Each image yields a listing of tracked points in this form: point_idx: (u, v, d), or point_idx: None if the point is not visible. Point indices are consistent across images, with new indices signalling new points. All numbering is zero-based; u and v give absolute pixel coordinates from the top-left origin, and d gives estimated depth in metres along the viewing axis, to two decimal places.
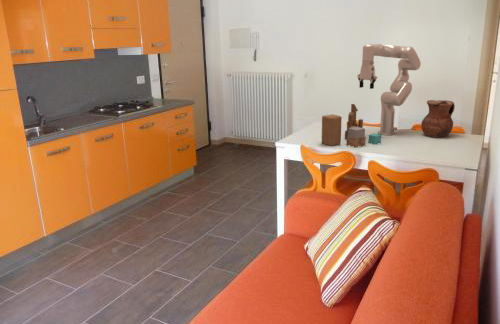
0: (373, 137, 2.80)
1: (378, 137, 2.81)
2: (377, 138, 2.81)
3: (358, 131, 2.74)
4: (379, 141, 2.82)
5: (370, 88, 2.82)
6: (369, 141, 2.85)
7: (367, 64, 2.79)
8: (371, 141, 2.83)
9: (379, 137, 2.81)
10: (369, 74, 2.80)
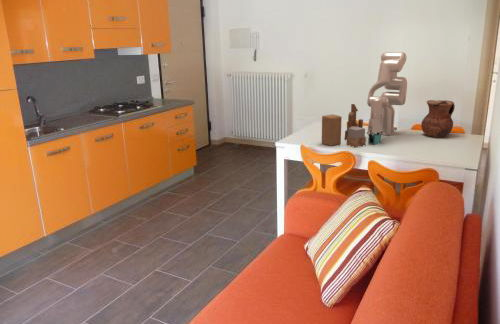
0: (373, 137, 2.80)
1: (378, 137, 2.81)
2: (377, 138, 2.81)
3: (358, 131, 2.74)
4: (379, 141, 2.82)
5: None
6: None
7: (381, 117, 2.78)
8: None
9: (379, 137, 2.81)
10: (381, 126, 2.81)
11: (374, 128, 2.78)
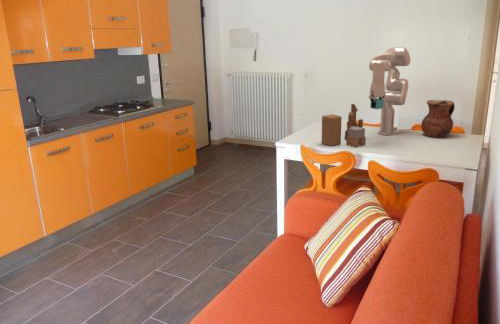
0: (376, 102, 2.73)
1: (380, 101, 2.74)
2: (379, 102, 2.74)
3: (358, 131, 2.74)
4: (381, 106, 2.75)
5: None
6: None
7: None
8: None
9: (381, 101, 2.74)
10: (384, 90, 2.74)
11: (376, 92, 2.71)
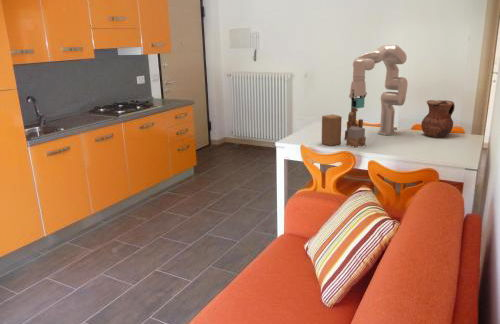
0: (356, 101, 2.69)
1: (361, 100, 2.70)
2: (360, 101, 2.69)
3: (358, 131, 2.74)
4: (362, 105, 2.71)
5: None
6: None
7: (364, 79, 2.67)
8: None
9: (362, 100, 2.70)
10: (365, 89, 2.70)
11: (356, 91, 2.67)
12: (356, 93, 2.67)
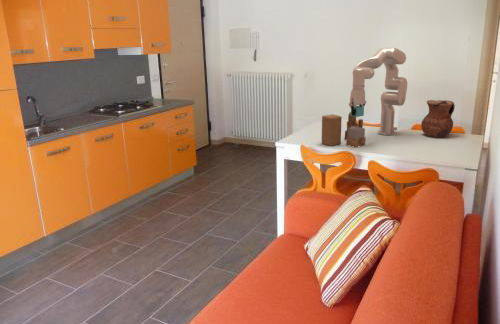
0: (356, 109, 2.71)
1: (360, 109, 2.71)
2: (359, 110, 2.71)
3: (358, 131, 2.74)
4: (362, 113, 2.73)
5: None
6: (351, 113, 2.75)
7: None
8: None
9: (361, 109, 2.72)
10: (364, 98, 2.72)
11: (356, 99, 2.68)
12: (356, 102, 2.69)
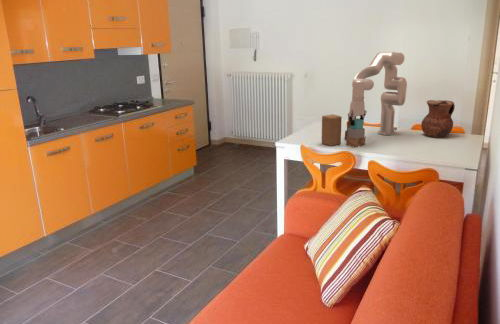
0: (355, 122, 2.73)
1: (360, 122, 2.74)
2: (359, 123, 2.74)
3: (358, 131, 2.74)
4: (361, 126, 2.75)
5: (363, 123, 2.78)
6: (351, 126, 2.77)
7: (363, 99, 2.71)
8: (353, 126, 2.76)
9: (361, 122, 2.74)
10: (364, 109, 2.74)
11: (356, 111, 2.71)
12: (355, 113, 2.71)
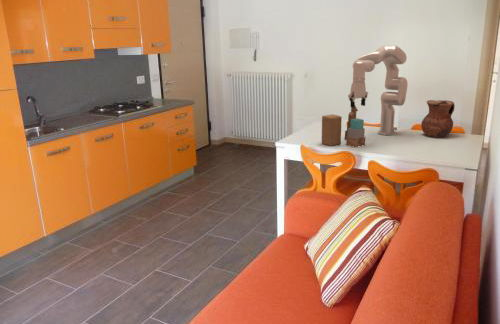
0: (355, 122, 2.73)
1: (360, 122, 2.74)
2: (359, 123, 2.74)
3: (358, 131, 2.74)
4: (361, 126, 2.75)
5: None
6: (351, 126, 2.78)
7: (364, 81, 2.67)
8: (353, 126, 2.76)
9: (361, 122, 2.74)
10: (365, 91, 2.71)
11: (357, 93, 2.67)
12: (356, 95, 2.67)
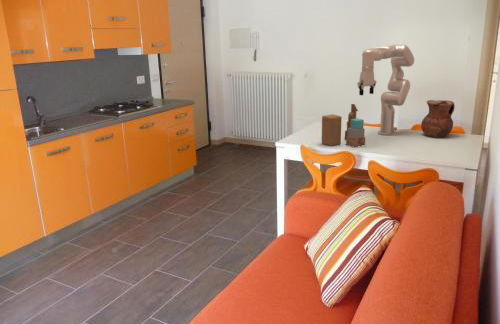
0: (355, 122, 2.73)
1: (360, 122, 2.74)
2: (359, 123, 2.73)
3: (358, 131, 2.74)
4: (361, 126, 2.75)
5: None
6: (351, 126, 2.77)
7: None
8: (353, 126, 2.76)
9: (361, 122, 2.74)
10: (373, 79, 2.78)
11: (365, 81, 2.74)
12: (365, 83, 2.74)
